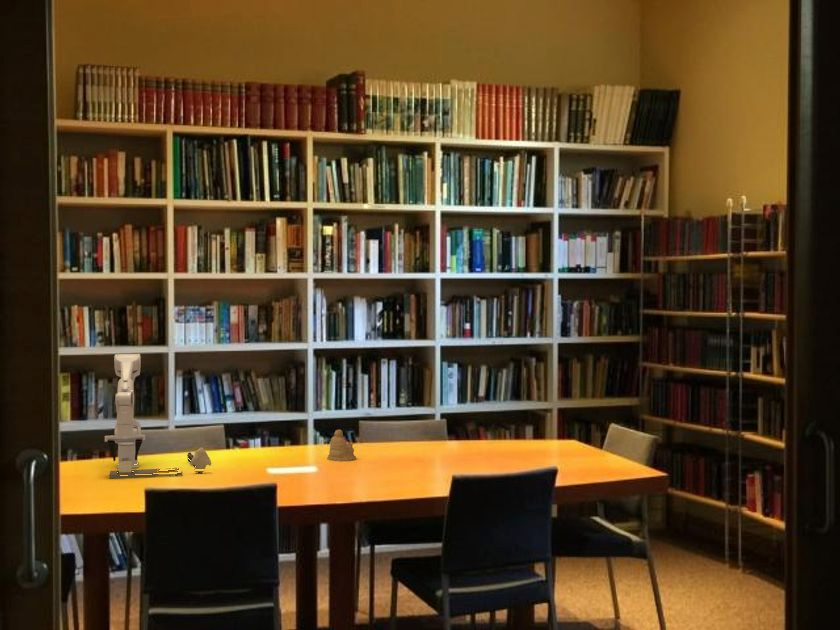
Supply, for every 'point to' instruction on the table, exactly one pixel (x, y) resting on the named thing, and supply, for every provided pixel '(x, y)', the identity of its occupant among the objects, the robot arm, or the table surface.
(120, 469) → the wood-topped square block
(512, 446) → the table surface
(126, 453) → the robot arm
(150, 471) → the grey slotted panel
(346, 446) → the statue
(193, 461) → the arrowhead
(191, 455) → the dark labeled box
